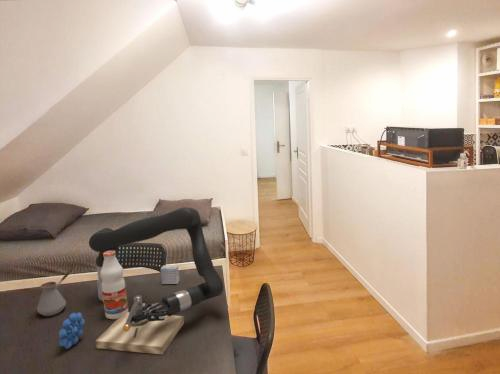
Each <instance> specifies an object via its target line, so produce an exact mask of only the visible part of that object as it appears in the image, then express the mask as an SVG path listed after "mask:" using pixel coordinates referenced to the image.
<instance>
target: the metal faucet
mask: <svg viewBox="0 0 500 374" xmlns="http://www.w3.org/2000/svg"><path fill="white" fill-rule="evenodd" d="M143 307H144V306H143V296H142V295H140V294H135V295H134V296H133V303H132V306H131V309H130V311H129V312H130V313H129V316H128V318H127V320H126V323H125V325H124V326H123V330H124V331H126V332H127V331H129V330H130V327H131V325H141V324H144V323H146V322H147V321H148V320H145V319H144V320H142V321H139V322H137V323H134V322H133V318H132V316H134V315H137V314H139V313H141V312H142V308H143Z"/></svg>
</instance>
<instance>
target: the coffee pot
mask: <svg viewBox="0 0 500 374" xmlns="http://www.w3.org/2000/svg"><path fill="white" fill-rule="evenodd" d="M73 270H74V271H76V267H75V266H72V267H71V269H69V270H68V271H67V272H66V273H65V274H64V275H63V276H62V278H61V279H60V281H59V282H57V281H47V282H44V283H42V284H41V285H40V286H39V288H40V289H41V294H40V297H39V301H38V304H37V308H36V311H37V312H38V314H40V315H42V316H44V317H51V316H55V315H58V314H59V313H61V312H62V311H63V310H64V308H65V307H66V305H67V300H66V299H65V298H64V297H63V295H62V294H61V293H60V291H59V290H58V287H59V286H60V284H62V282H63V281H64V280H65V279H66V278H67V277H68V276H69V275H70V274H71V272H73Z"/></svg>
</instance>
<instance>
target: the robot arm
mask: <svg viewBox="0 0 500 374" xmlns="http://www.w3.org/2000/svg"><path fill="white" fill-rule="evenodd" d="M176 230H186V232H187V233H188V236H189V238H190V242H191V249H192V251H191V252H192V258H193V263H194V265H195V268H196V271H197V273H198V275H199V276H200V277H203V278H202V279H204V282H202V283H200V284H198V285H196V286H192V287H188V288H186V289H183V290H178V291H176V292H173V293H171V294H168V295H166V296H163V297H162V298H161V301H158V302H155V303H152V301H148V302H147V303H146V304H145V305H144V306H143V308H142V312H141V313H139V314H137V315H134V316H132V318H133V322H134V323H137V322H139V321H142V320H144V319H145V320H148V321H163V320H165V316H166V315H167V316H172V315H174V316H175V315H176V314H179V313H182V312H184V311H185V310H188V309H189V308H191V307H194V306H196V305H198V304H200V303H202V302H203V301H207V300H210V299H212V298H215V297H219V296H221V295H222V294H223V292H224V284H223V283H224V282H223V280H222V278H221V276H220V275H219V273H218V271H217V270H216V269H215V266H214V263H213V260H212V258H211V255H210V253H209V249H208V246H207V243H206V239H205V235H204V232H203V225H202V220H201V215H200V213H199V211H198V210H197V209H195V208H194V207H186V206H184V207H180V208H177V209H175V210H172V211H170V212H168V213H167V212H166V213H164V214H161V215H156V216H150V217H146V218H141V219H137V220H134V221H132V222H129V223H128V224H125V225H123V226H121V227H119V228H117V229H112V228H111V227H110V228H109V227H104V228H102V229H100V230H98V231H96V232H95V233H93V234H92V235H91V236H90V238H89V240H88V245H89V247H90V249H91V250H92V251H94V252H96V253H98V254H97V257H96V259H95V265H96V270H97V271H96V272H97V280H96V288H97V294H98V300H99V301H101V302H103V295H102V286H101V285H102V279H101V276H100V271H101V269H102V266H103V262H104V257H103V253H104V252H106V251H110V250H114V251H115V252H116V256H115V257H116V258H117V259H118V257H119V246H122V245H129V244H134V243H138V242H143V241H146V240H150V239H153V238H156V237H158V236H160V235H161V234H163V233H167V232H169V231H176Z"/></svg>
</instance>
